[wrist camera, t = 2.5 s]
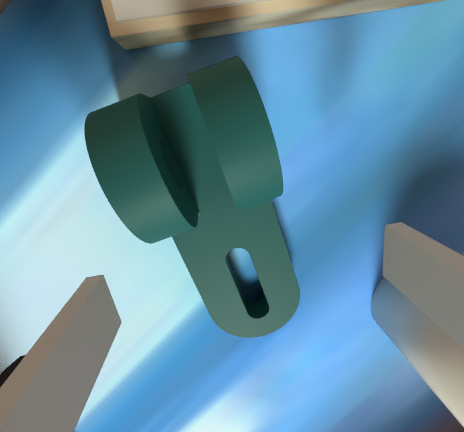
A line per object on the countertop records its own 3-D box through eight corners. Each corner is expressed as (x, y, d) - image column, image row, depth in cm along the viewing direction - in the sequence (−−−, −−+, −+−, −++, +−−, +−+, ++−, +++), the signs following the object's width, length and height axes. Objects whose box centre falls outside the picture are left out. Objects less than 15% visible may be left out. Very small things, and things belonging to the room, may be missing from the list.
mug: (368, 362, 25) (450, 482, 17) (372, 266, 22) (478, 358, 13) (448, 346, 26) (567, 456, 17) (465, 248, 22) (627, 327, 14)
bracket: (123, 114, 16) (57, 107, 9) (226, 74, 16) (244, 34, 9) (224, 327, 23) (234, 427, 15) (299, 300, 22) (346, 388, 15)
